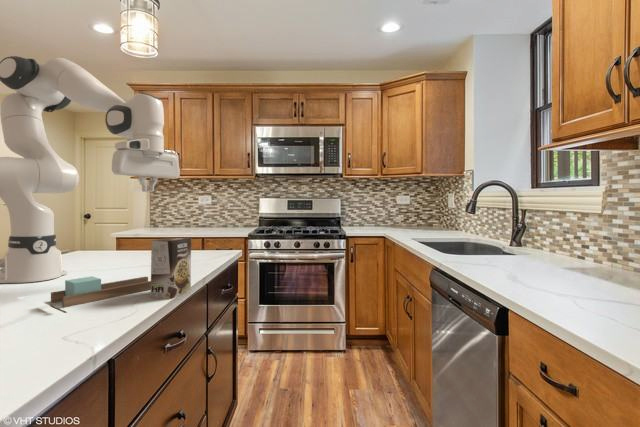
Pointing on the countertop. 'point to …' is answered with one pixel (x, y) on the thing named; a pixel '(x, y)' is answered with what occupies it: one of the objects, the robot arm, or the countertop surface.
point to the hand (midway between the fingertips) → (148, 191)
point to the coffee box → (170, 267)
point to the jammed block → (82, 285)
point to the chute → (103, 292)
